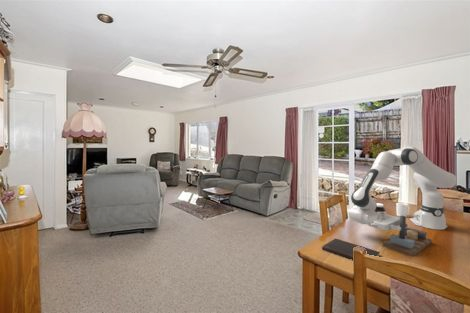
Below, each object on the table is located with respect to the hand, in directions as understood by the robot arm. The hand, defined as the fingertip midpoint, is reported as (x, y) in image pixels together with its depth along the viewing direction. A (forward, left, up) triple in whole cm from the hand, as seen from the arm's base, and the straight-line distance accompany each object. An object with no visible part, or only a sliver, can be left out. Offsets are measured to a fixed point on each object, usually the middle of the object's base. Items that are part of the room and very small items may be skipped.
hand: (404, 227), depth 124 cm
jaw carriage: (-1, -1, -10) cm, 10 cm away
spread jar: (-51, +6, -12) cm, 53 cm away
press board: (-6, +5, -12) cm, 14 cm away
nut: (-11, +10, -10) cm, 18 cm away
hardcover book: (+10, -30, -13) cm, 34 cm away
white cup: (-64, +30, -12) cm, 72 cm away
